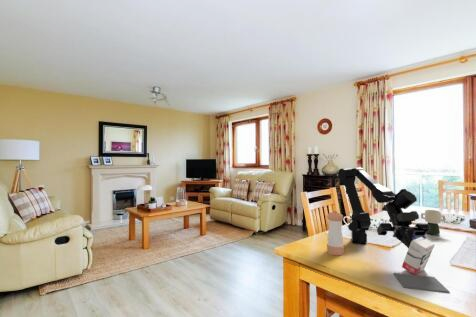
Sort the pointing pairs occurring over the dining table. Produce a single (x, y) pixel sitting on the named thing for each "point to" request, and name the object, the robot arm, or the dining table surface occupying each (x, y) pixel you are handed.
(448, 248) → the dining table surface
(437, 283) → the mat
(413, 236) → the blue low rounded piece
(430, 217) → the character mug
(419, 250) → the ink box
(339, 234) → the pepper shaker
